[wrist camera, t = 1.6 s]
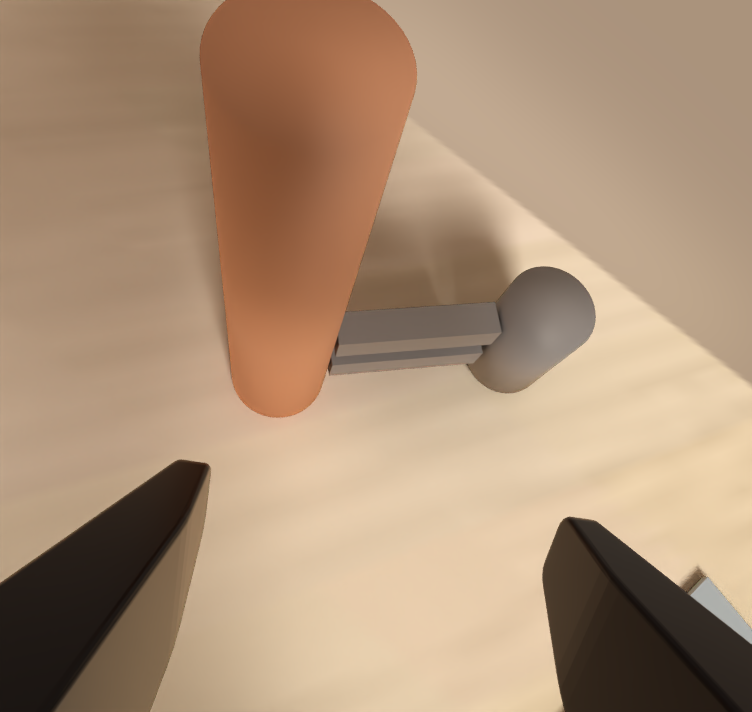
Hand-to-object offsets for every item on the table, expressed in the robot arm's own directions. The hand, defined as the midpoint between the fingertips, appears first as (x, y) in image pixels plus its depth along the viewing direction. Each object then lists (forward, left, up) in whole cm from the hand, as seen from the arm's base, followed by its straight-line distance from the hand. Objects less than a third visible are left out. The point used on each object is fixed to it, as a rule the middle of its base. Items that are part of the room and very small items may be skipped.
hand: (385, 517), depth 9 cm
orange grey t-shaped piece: (+6, +4, -13) cm, 15 cm away
